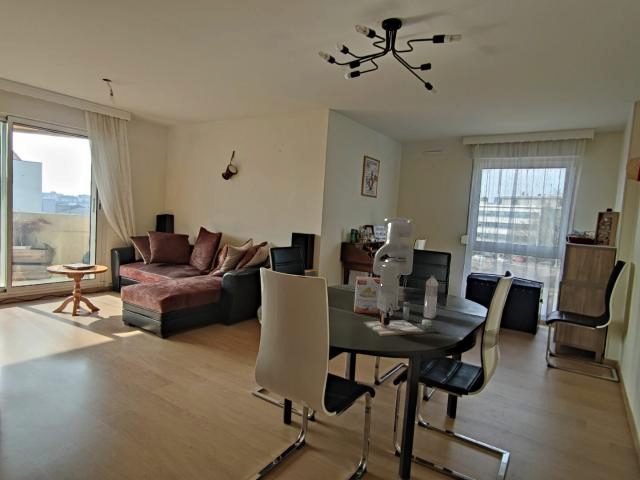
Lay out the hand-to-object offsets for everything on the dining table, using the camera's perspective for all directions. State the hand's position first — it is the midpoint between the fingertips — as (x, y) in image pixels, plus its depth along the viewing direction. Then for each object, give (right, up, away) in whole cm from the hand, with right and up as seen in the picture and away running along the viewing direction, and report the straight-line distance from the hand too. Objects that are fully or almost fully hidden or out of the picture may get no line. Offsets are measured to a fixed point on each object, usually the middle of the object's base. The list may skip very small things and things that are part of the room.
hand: (384, 323), depth 190 cm
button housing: (+22, -4, +4) cm, 23 cm away
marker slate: (+15, -3, +20) cm, 26 cm away
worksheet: (+5, -3, +3) cm, 7 cm away
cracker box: (-6, -1, +32) cm, 33 cm away
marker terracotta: (0, -2, 0) cm, 2 cm away
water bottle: (+31, -3, +29) cm, 43 cm away
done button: (+22, -3, +4) cm, 23 cm away
